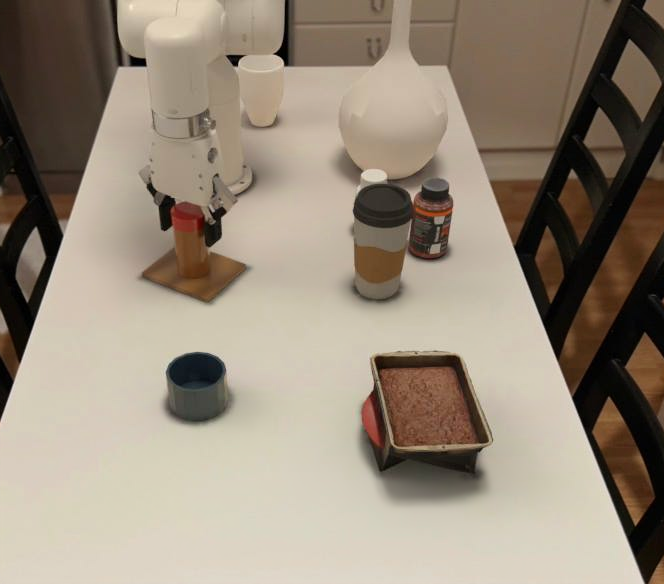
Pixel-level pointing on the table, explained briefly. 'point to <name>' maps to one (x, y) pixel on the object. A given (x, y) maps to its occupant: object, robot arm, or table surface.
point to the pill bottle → (371, 179)
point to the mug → (261, 87)
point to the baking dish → (424, 411)
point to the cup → (197, 385)
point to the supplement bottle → (431, 219)
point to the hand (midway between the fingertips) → (191, 233)
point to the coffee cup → (380, 238)
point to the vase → (393, 109)
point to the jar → (190, 240)
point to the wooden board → (199, 287)
